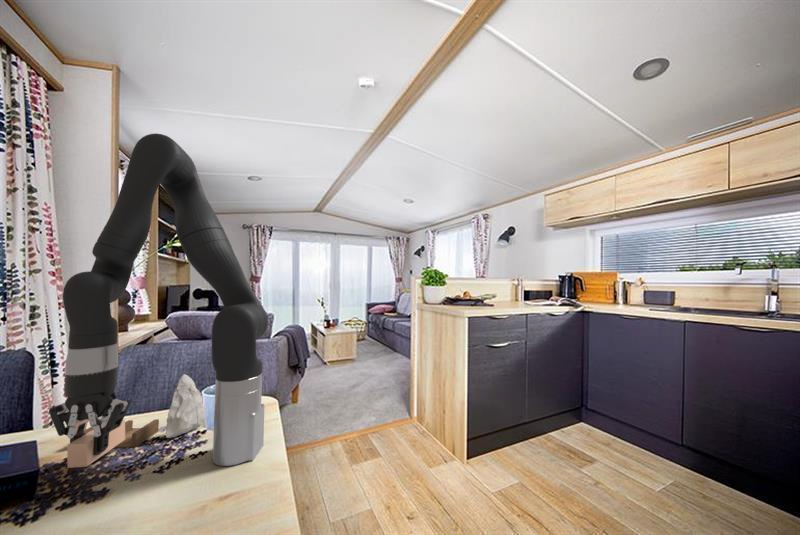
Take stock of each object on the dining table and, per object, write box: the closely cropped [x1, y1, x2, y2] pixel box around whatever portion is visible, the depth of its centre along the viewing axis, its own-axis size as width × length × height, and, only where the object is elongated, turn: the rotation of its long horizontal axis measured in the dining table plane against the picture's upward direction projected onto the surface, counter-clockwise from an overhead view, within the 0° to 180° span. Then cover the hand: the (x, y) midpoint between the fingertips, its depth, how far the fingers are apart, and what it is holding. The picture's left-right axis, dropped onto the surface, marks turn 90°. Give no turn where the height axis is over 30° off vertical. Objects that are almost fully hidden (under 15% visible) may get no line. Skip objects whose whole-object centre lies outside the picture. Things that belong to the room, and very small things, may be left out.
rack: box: [84, 419, 160, 448], centre depth 71 cm, size 14×7×3 cm, turn 95°
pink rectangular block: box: [66, 419, 126, 469], centre depth 61 cm, size 3×9×4 cm, turn 6°
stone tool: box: [165, 373, 205, 439], centre depth 74 cm, size 8×3×15 cm, turn 151°
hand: (88, 453), depth 59 cm, fingers closed on pink rectangular block, 3 cm apart
